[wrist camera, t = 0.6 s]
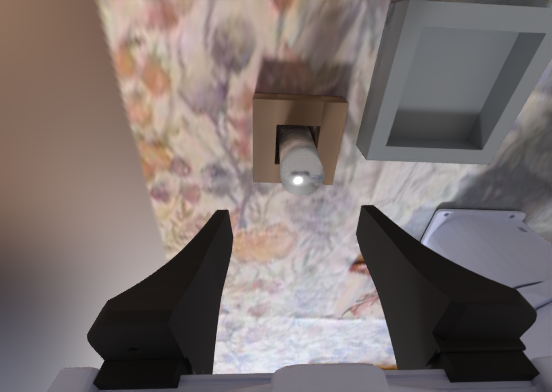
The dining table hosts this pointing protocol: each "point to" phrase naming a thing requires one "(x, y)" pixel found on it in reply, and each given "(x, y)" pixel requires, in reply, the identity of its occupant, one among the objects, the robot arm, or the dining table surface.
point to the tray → (452, 80)
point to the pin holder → (296, 111)
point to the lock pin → (299, 160)
